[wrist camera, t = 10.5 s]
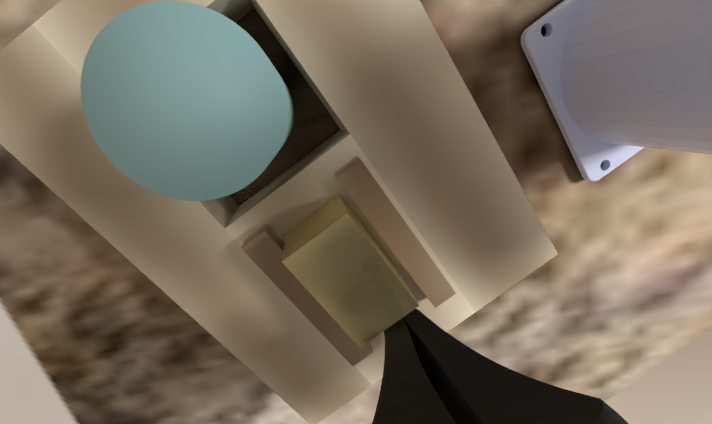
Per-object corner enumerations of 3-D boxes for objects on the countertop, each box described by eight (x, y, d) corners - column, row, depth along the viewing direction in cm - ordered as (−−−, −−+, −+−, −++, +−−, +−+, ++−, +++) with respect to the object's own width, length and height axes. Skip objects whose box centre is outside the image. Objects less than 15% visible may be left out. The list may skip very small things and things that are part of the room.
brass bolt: (338, 193, 12) (347, 213, 10) (398, 271, 14) (419, 306, 11) (285, 232, 12) (281, 261, 10) (349, 306, 14) (359, 348, 11)
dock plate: (307, -129, 12) (310, -231, 8) (515, 230, 17) (572, 262, 14) (26, 98, 13) (-84, 93, 9) (311, 376, 18) (313, 443, 14)
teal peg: (254, 36, 13) (200, -44, 6) (313, 126, 14) (320, 135, 8) (169, 95, 13) (32, 75, 7) (236, 179, 15) (176, 234, 8)
